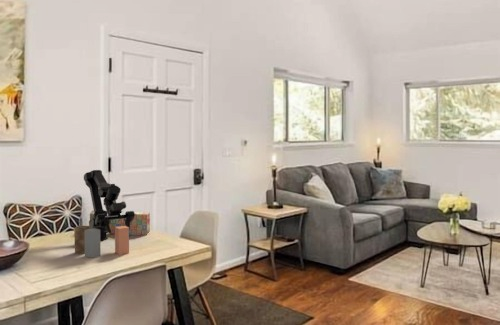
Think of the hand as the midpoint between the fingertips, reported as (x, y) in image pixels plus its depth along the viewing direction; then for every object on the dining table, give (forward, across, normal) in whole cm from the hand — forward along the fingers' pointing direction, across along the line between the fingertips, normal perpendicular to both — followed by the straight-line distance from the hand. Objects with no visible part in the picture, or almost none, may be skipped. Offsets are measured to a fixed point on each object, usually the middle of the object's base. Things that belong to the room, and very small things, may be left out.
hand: (119, 231), depth 212 cm
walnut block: (0, -15, +13) cm, 20 cm away
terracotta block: (+9, 0, +5) cm, 10 cm away
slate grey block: (+7, -13, +7) cm, 16 cm away
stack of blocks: (-18, +20, +32) cm, 42 cm away
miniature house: (-30, +8, +44) cm, 54 cm away
